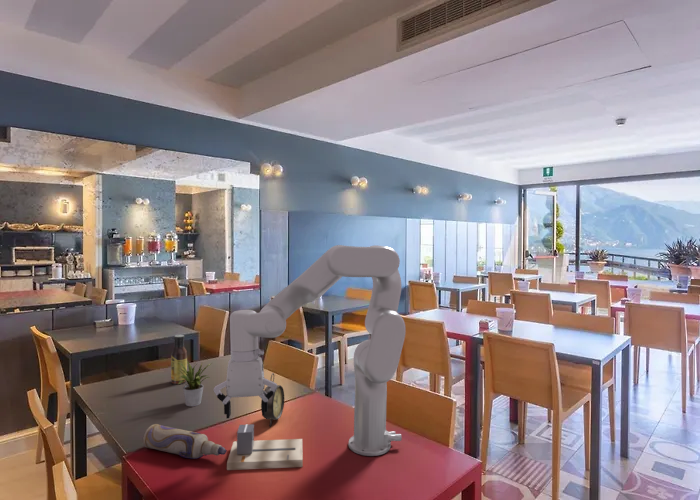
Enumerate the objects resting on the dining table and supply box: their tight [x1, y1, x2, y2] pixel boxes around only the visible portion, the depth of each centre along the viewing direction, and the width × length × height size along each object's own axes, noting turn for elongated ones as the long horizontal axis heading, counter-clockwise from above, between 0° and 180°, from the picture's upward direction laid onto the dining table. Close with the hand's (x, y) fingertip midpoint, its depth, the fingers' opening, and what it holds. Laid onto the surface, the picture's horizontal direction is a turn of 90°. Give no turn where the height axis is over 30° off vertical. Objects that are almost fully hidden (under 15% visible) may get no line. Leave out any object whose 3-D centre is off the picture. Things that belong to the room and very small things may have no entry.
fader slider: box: [236, 423, 255, 454], centre depth 122 cm, size 4×5×6 cm
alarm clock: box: [260, 372, 285, 428], centre depth 146 cm, size 11×5×16 cm, turn 168°
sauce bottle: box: [170, 334, 188, 385], centre depth 182 cm, size 7×6×20 cm
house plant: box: [175, 360, 213, 407], centre depth 160 cm, size 14×14×16 cm
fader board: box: [226, 438, 304, 471], centre depth 123 cm, size 20×12×2 cm, turn 97°
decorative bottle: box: [142, 423, 227, 460], centre depth 124 cm, size 26×8×7 cm, turn 71°
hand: (246, 415), depth 122 cm, fingers open, 9 cm apart
